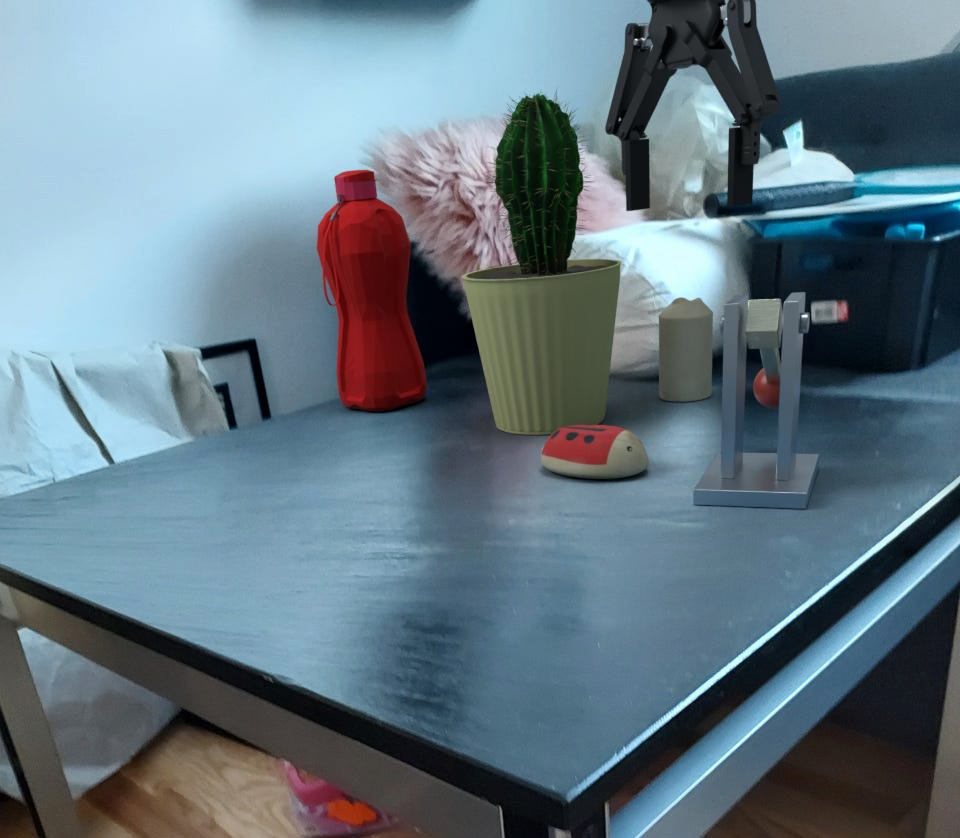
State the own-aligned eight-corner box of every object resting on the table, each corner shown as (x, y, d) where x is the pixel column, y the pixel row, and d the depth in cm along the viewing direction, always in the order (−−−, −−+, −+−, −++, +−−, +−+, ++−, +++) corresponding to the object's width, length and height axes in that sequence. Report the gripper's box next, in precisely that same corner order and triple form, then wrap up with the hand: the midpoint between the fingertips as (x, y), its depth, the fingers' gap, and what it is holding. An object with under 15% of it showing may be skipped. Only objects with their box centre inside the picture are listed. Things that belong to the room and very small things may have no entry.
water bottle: (318, 412, 112) (279, 177, 101) (387, 392, 119) (357, 170, 108) (370, 419, 106) (335, 171, 95) (439, 398, 113) (414, 164, 102)
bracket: (716, 466, 79) (720, 290, 73) (818, 468, 76) (830, 285, 70) (693, 504, 71) (694, 310, 65) (805, 509, 68) (818, 306, 62)
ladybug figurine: (630, 486, 76) (629, 442, 74) (523, 477, 81) (520, 436, 79) (662, 463, 81) (662, 421, 79) (558, 455, 86) (556, 416, 84)
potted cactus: (465, 414, 104) (435, 101, 91) (601, 397, 106) (591, 87, 93) (488, 448, 90) (457, 86, 77) (644, 428, 92) (640, 69, 79)
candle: (651, 395, 104) (649, 299, 100) (696, 388, 105) (697, 293, 101) (673, 404, 100) (672, 304, 95) (720, 397, 101) (722, 297, 96)
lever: (753, 415, 80) (757, 374, 81) (797, 415, 79) (802, 373, 79) (733, 340, 67) (739, 292, 68) (786, 338, 66) (792, 289, 66)
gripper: (564, -25, 92) (574, 214, 102) (774, -94, 74) (763, 207, 83) (620, -23, 96) (625, 208, 105) (833, -88, 78) (816, 199, 87)
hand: (686, 208), depth 94 cm, fingers open, 13 cm apart
